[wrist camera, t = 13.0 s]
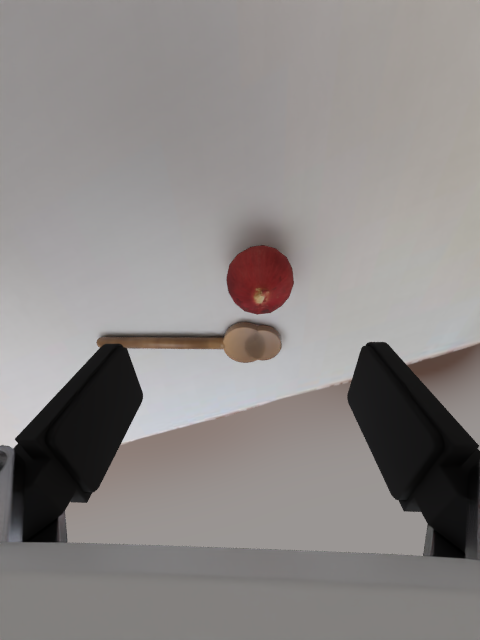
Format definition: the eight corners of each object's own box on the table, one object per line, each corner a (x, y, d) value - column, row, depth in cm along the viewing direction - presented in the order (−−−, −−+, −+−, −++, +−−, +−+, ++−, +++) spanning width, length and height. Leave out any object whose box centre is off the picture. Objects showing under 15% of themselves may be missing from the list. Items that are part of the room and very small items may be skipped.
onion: (289, 290, 24) (302, 331, 17) (236, 297, 25) (228, 338, 18) (285, 233, 21) (300, 255, 14) (226, 243, 22) (212, 267, 15)
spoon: (107, 355, 30) (101, 362, 29) (93, 321, 28) (86, 327, 26) (279, 356, 29) (280, 364, 27) (281, 321, 26) (282, 328, 25)
